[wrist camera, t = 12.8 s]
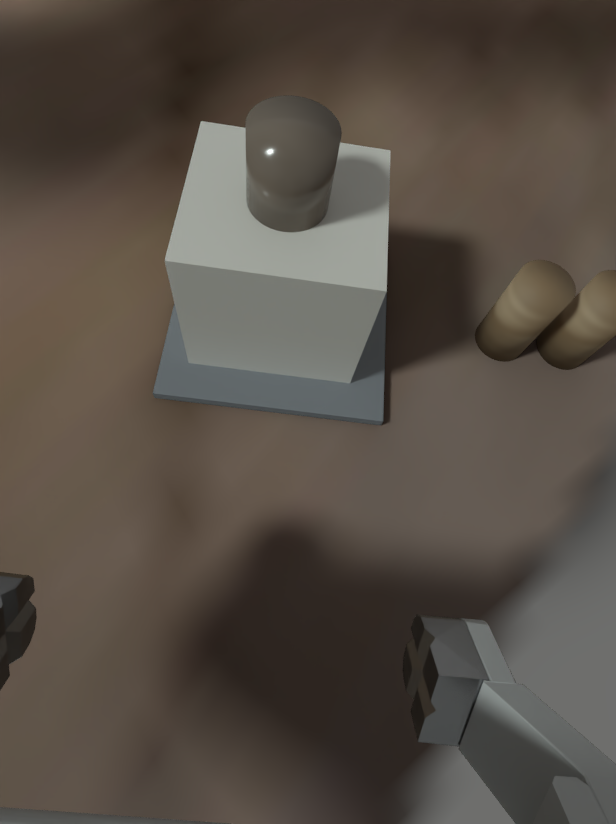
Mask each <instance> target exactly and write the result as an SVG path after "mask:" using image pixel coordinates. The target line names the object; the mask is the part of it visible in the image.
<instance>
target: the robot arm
mask: <svg viewBox="0 0 616 824" xmlns="http://www.w3.org/2000/svg"><path fill="white" fill-rule="evenodd" d="M34 591H35V589H34V580H33V578H32V577H30V576H29V575H21V574H13V573H5V572H0V690H1V689H2V687H3V685H4V684H5V682H6V681H7V679H8V678H9V676H10V672H9V664H11V663H12V662H14V661H15V660H17V659H19V658H20V657H22V656H23V654H24V652H25V651H26V649H27V647H28V646H29V644H30V641H31V638H32V636H33V633H34V630H35V625H36V608H35V606H34V605H33V604H32V603H31V602H30V601H29V599H30V597H31V596H32V594H33V593H34ZM411 631H412V635H413V639H412V640H411V641H410V642H408V643H407V644H406V648H405V652H404V657H403V677H404V683H405V688H406V692H407V693H408V694H409V695H410V696H411V697H412V698H413V699H414V701H413V704H412V708H411V715H412V719H413V723H414V728H415V732H416V736H417V740H418V742H424V743H433V744H442V745H450V746H459V750H460V751H461V753H462V754H463V755H464V756H465V758H466V759H467V760H468V762H469V763H470V764H471V766H472V767H473V768H474V770H475V771H476V772H477V774H478V775H479V776H480V777H481V779H482V780H483V781H484V783H485V784H486V785H487V787H488V788H489V789H490V791H491V792H492V793H493V794H494V796H495V797H496V798H497V800H498V801H499V802H500V804H501V805H502V806H503V808H504V809H505V810H506V812H507V813H508V814H509V815H510V817H511V818H512V819H513V821H514V822H515V823H516V824H616V764H615V763H614V762H612V760H610V759H609V758H608V757H607V756H606V755H604V754H603V753H602V752H601V751H600V750H599V749H597V748H596V747H595V746H594V745H593V744H592V743H591V742H589V741H588V740H587V739H586V738H585V737H583V736H582V735H581V734H580V733H579V732H578V731H577V730H576V729H574V728H573V727H572V726H571V725H570V724H568V723H567V722H566V721H565V720H564V719H563V718H562V717H560V716H559V715H558V714H557V713H556V712H555V711H553V710H552V709H551V708H550V707H549V706H548V705H546V704H545V703H544V702H543V701H542V700H541V699H539V698H538V697H537V696H536V695H535V694H534V693H533V692H531V691H530V690H529V689H528V688H527V687H526V686H524V685H523V684H516V682H515V680H514V678H513V676H512V673H511V671H510V669H509V667H508V665H507V663H506V661H505V659H504V657H503V655H502V652H501V650H500V648H499V646H498V644H497V642H496V640H495V638H494V636H493V634H492V631H491V629H490V627H489V625H488V623H486V622H485V621H484V620H476V619H464V618H462V619H459V618H449V617H438V616H427V615H416V616H415V618H414V619H413V623H412V626H411ZM0 824H229V823H215V822H201V821H187V820H173V819H159V818H145V817H131V816H117V815H103V814H89V813H75V812H61V811H47V810H33V809H19V808H5V807H0Z"/></svg>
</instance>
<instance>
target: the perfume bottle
mask: <svg viewBox="0 0 616 824" xmlns="http://www.w3.org/2000/svg"><path fill="white" fill-rule="evenodd" d="M340 140H341V126H340V124H339V121H338V120H337V118H336V117H335V115H334V114H333V113H332V112H331V111H330V110H329V109H327V108H326V107H325V106H323V105H321V104H320V103H318V102H316V101H313V100H311V99H307V98H304V97H299V96H277V97H272V98H268V99H266V100H263V101H261V102H260V103H258V104H257V105H255V106H254V107H253V108H252V109H251V110H250V112H249V113H248V115H247V118H246V124H245V128H243V127H236V126H230V125H224V124H217V123H211V122H204V121H201V123H200V127H199V131H198V135H197V139H196V142H195V146H194V150H193V154H192V158H191V162H190V165H189V169H188V173H187V177H186V181H185V185H184V188H183V192H182V196H181V200H180V204H179V208H178V211H177V215H176V219H175V223H174V227H173V231H172V234H171V238H170V242H169V246H168V250H167V254H166V257H165V264H166V269H167V273H168V277H169V281H170V286H171V290H172V294H173V298H174V303H175V307H176V311H177V315H178V320H179V324H180V328H181V333H182V337H183V341H184V345H185V350H186V354H187V358H188V362H189V363H193V364H201V365H209V366H217V367H224V368H232V369H240V370H248V371H256V372H264V373H272V374H280V375H288V376H296V377H303V378H311V379H319V380H327V381H335V382H343V383H350V382H351V379H352V377H353V374H354V372H355V369H356V367H357V364H358V362H359V359H360V357H361V354H362V352H363V349H364V347H365V344H366V342H367V339H368V337H369V334H370V332H371V329H372V327H373V324H374V322H375V319H376V317H377V314H378V312H379V309H380V307H381V304H382V302H383V299H384V297H385V294H386V292H387V260H388V222H389V185H390V150H384V149H378V148H371V147H365V146H358V145H352V144H346V143H340Z"/></svg>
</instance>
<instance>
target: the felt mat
mask: <svg viewBox="0 0 616 824" xmlns="http://www.w3.org/2000/svg"><path fill="white" fill-rule="evenodd" d="M386 297H387V292H386V294H385V297H384V299H383V302H382V304H381V307H380V309H379V312H378V314H377V317H376V319H375V322H374V324H373V327H372V329H371V332H370V334H369V337H368V339H367V342H366V344H365V347H364V349H363V352H362V354H361V357H360V359H359V362H358V364H357V367H356V369H355V372H354V374H353V377H352V379H351V382H350V383H343V382H335V381H327V380H319V379H311V378H303V377H296V376H288V375H280V374H272V373H264V372H256V371H248V370H240V369H232V368H224V367H217V366H209V365H201V364H193V363H189V362H188V358H187V354H186V350H185V345H184V341H183V337H182V333H181V328H180V324H179V320H178V315H177V311H176V307H175V303H174V307H173V311H172V316H171V320H170V324H169V328H168V332H167V336H166V341H165V345H164V349H163V353H162V357H161V362H160V366H159V370H158V374H157V378H156V382H155V387H154V391H153V395H154V397H155V398H161V399H169V400H178V401H186V402H194V403H202V404H210V405H219V406H227V407H235V408H243V409H251V410H260V411H268V412H276V413H284V414H292V415H301V416H309V417H317V418H325V419H333V420H342V421H350V422H358V423H366V424H374V425H381V424H382V422H383V409H384V371H385V334H386Z"/></svg>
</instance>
